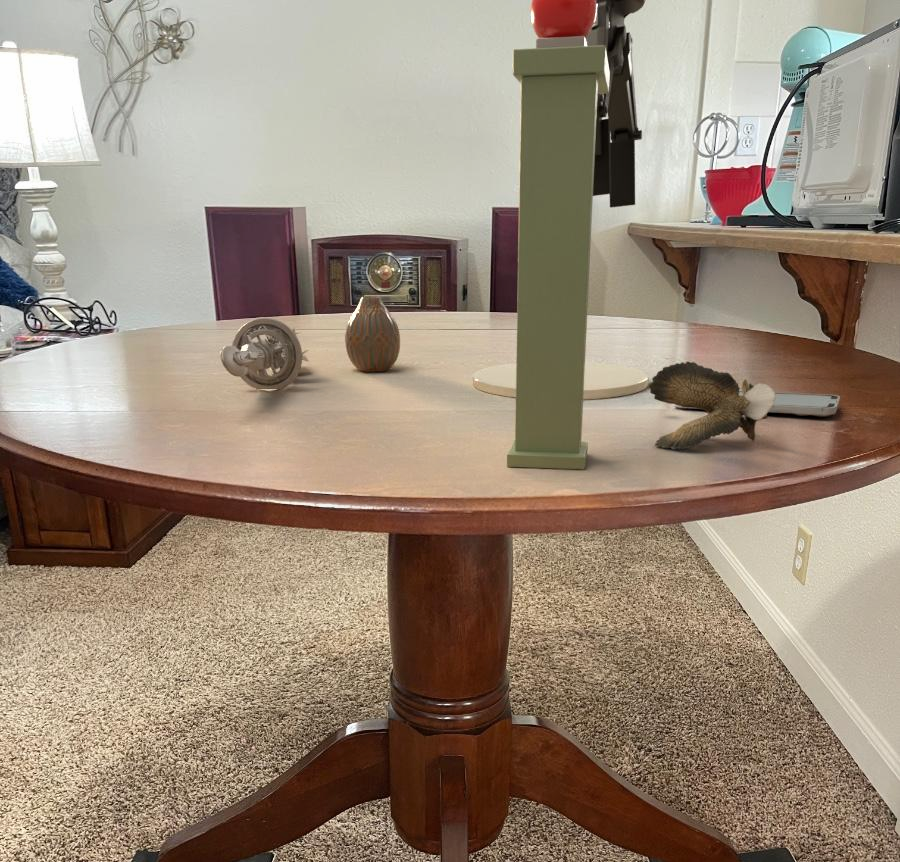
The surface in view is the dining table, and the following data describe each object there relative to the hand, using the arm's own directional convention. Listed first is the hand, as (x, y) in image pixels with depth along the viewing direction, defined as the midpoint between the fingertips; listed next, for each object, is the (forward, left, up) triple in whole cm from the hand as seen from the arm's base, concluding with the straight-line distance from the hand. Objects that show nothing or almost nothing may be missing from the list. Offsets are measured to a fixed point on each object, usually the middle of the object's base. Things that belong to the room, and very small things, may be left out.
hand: (610, 201), depth 93 cm
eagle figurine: (-14, +24, -19) cm, 34 cm away
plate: (+5, 0, -19) cm, 20 cm away
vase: (+30, -3, -19) cm, 36 cm away
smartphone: (-17, +8, -19) cm, 27 cm away
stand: (-2, +30, -19) cm, 36 cm away
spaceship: (+35, +14, -19) cm, 42 cm away
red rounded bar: (-1, +25, +9) cm, 27 cm away
